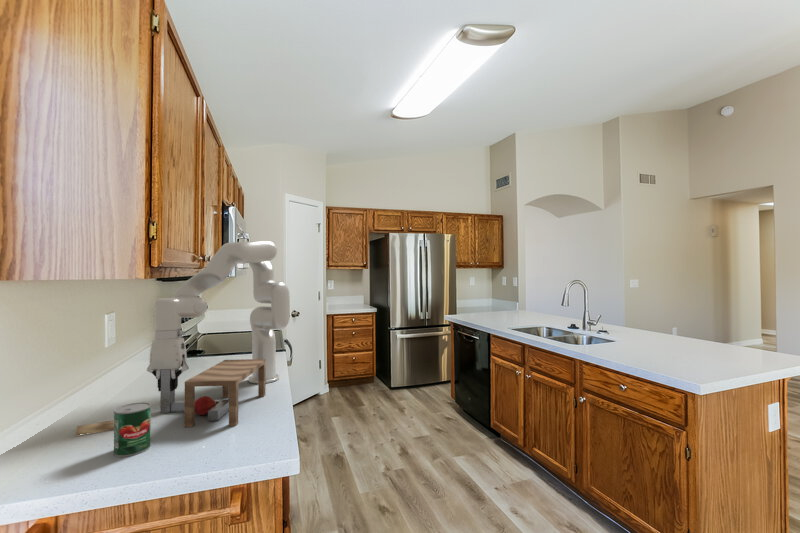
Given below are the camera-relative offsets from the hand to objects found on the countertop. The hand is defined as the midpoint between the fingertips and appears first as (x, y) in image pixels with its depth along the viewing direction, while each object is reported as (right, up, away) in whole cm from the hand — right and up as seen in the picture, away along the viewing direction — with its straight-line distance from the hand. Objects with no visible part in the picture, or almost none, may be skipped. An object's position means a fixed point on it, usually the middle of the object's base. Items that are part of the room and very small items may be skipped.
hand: (167, 389), depth 125 cm
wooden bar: (-9, -7, -15) cm, 19 cm away
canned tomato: (+8, -7, -28) cm, 30 cm away
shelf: (+20, -7, +1) cm, 21 cm away
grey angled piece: (+10, -7, -4) cm, 13 cm away
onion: (+18, -3, -3) cm, 18 cm away
